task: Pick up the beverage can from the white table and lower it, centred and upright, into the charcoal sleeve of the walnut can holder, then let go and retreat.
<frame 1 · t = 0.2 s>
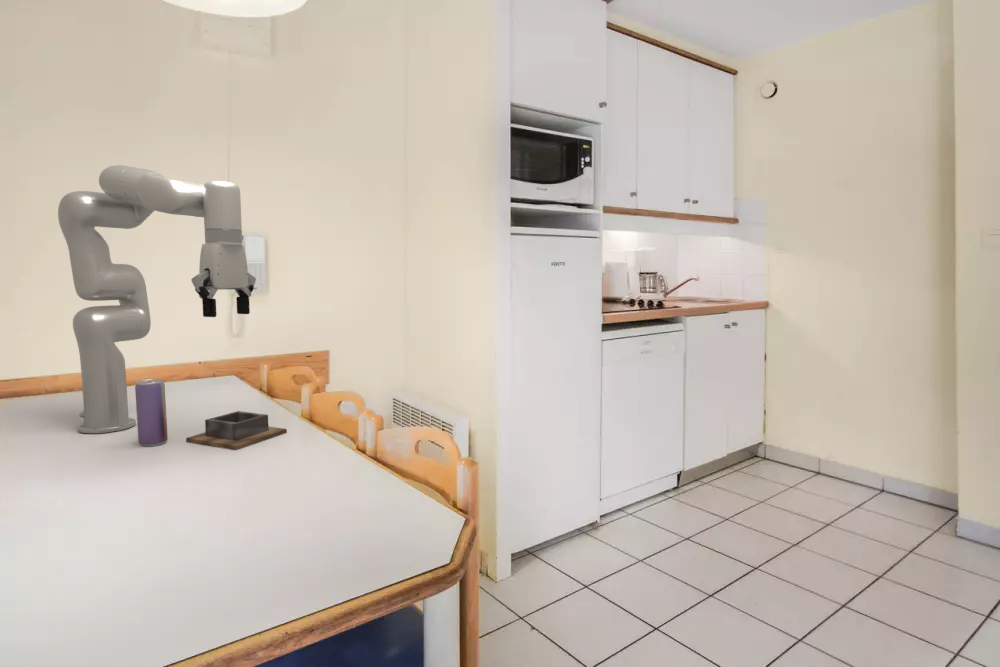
hand: (227, 315, 133), 31 cm above the table, fingers open, 9 cm apart
beverage can: (153, 444, 140), on the table
can holder: (237, 437, 146), on the table
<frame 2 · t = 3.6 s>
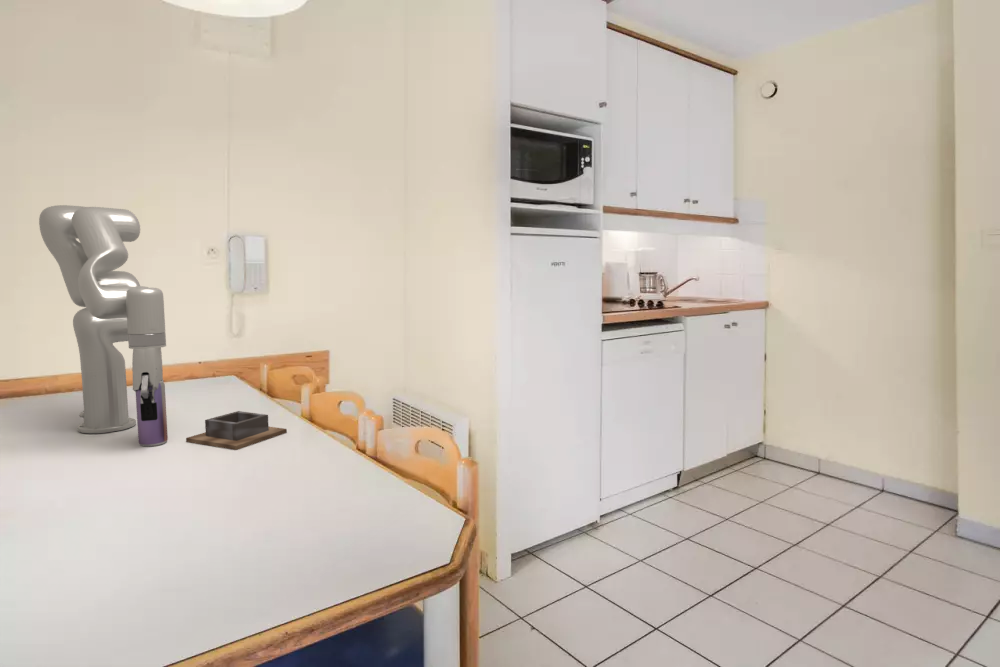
hand: (151, 416, 139), 7 cm above the table, fingers closed on beverage can, 5 cm apart
beverage can: (153, 444, 140), on the table, touching gripper
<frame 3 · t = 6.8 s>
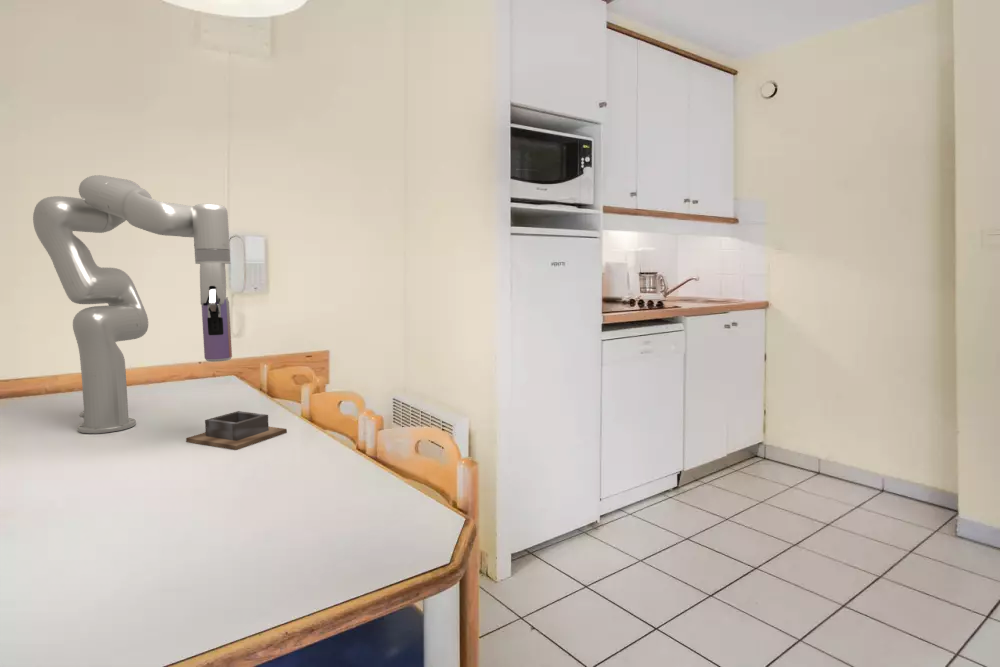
hand: (217, 332, 142), 26 cm above the table, fingers closed on beverage can, 5 cm apart
beverage can: (218, 360, 142), point 19 cm above the table, touching gripper
when the fingers open (9 cm above the table, at t = 10.1 s): beverage can drops 1 cm, resting on can holder.
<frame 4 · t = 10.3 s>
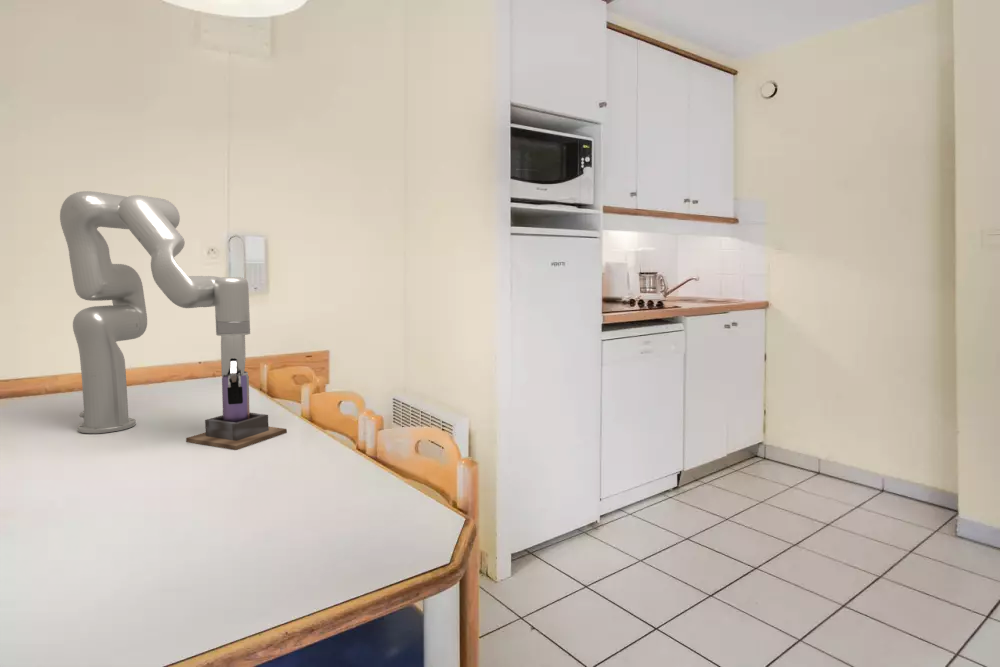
hand: (236, 399, 145), 9 cm above the table, fingers open, 7 cm apart
beverage can: (236, 433, 146), point 1 cm above the table, touching can holder
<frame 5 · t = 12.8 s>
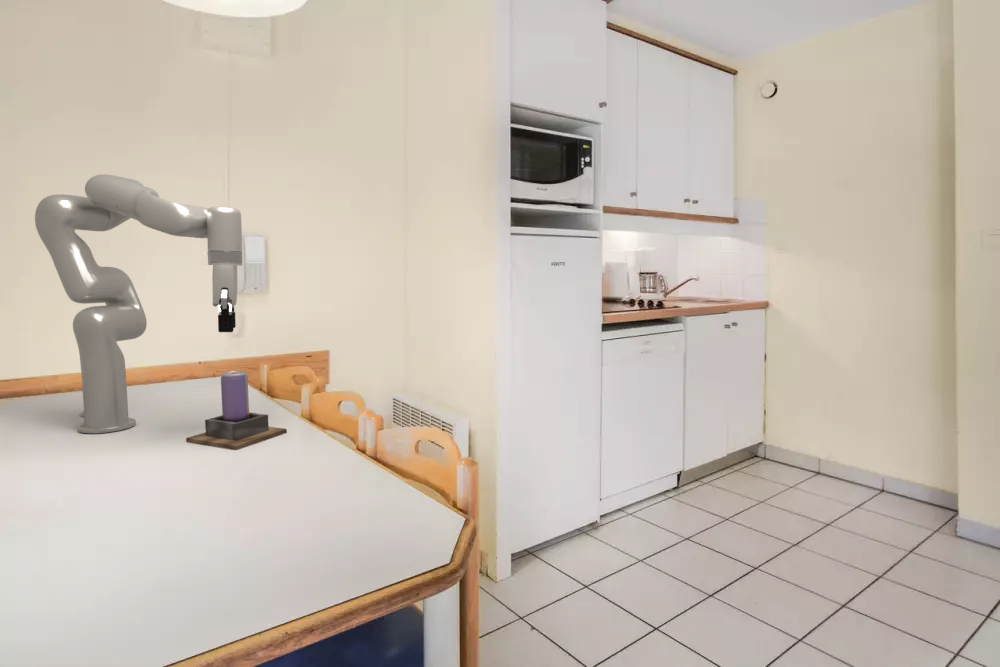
hand: (227, 329, 144), 26 cm above the table, fingers open, 9 cm apart
nothing on the table moved.
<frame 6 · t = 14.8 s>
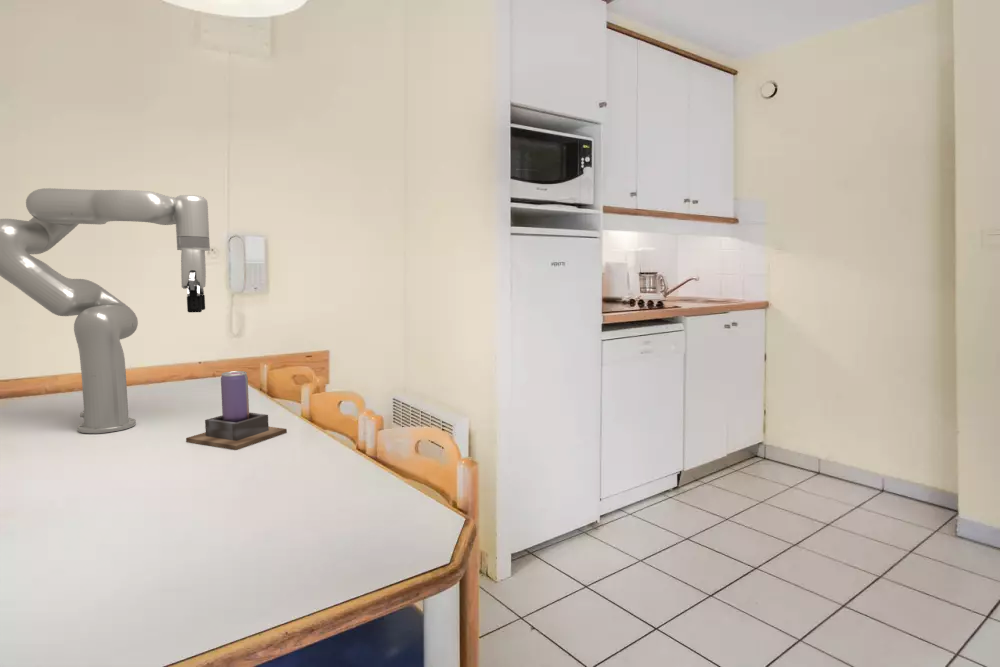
hand: (196, 311, 154), 30 cm above the table, fingers open, 9 cm apart
nothing on the table moved.
at the end: beverage can 0.3 cm off-centre on the can holder, point 0.8 cm above the can holder's base; beverage can tilted 0°; the gripper is holding nothing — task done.
